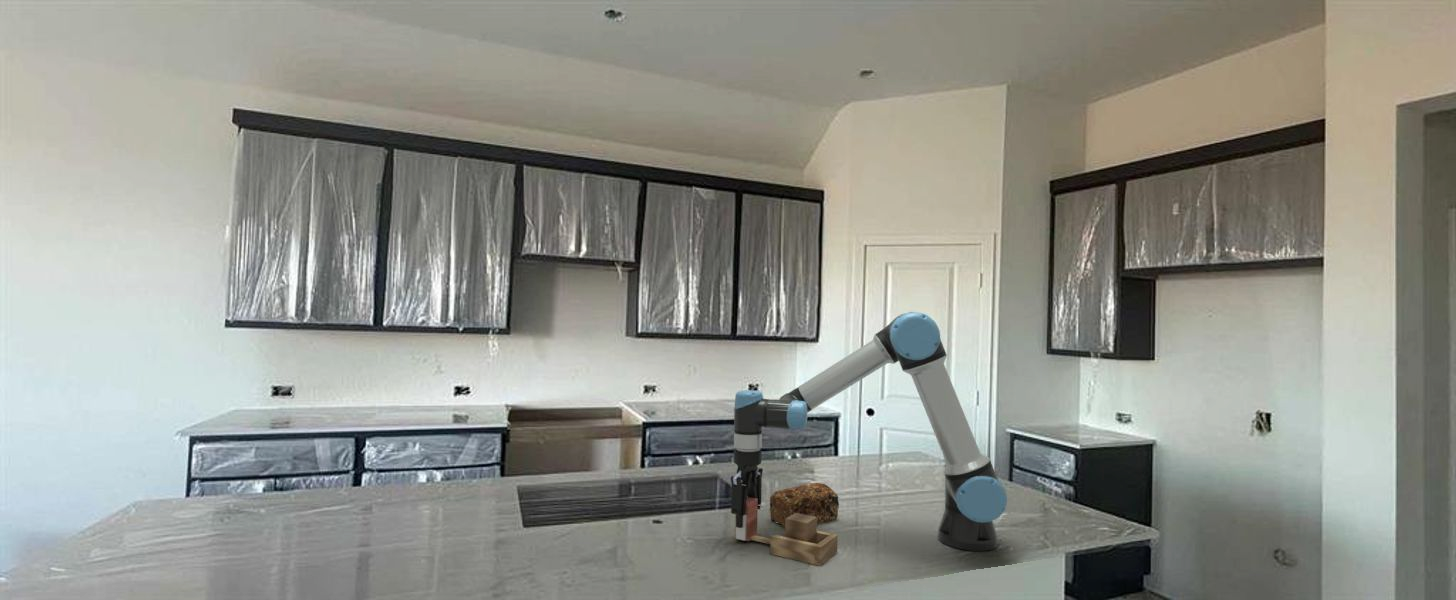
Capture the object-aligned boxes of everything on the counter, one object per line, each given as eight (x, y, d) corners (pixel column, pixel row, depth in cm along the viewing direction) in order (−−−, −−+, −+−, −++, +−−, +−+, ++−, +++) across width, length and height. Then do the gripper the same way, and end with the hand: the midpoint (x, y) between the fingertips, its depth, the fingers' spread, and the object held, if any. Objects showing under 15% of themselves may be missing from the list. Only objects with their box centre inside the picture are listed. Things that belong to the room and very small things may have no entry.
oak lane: (837, 552, 162) (837, 534, 162) (820, 565, 153) (820, 547, 153) (789, 541, 169) (789, 524, 170) (770, 553, 160) (770, 536, 160)
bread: (817, 511, 197) (818, 479, 197) (840, 521, 188) (840, 487, 188) (767, 520, 187) (768, 486, 188) (788, 531, 178) (789, 495, 178)
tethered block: (816, 548, 163) (816, 509, 163) (806, 555, 158) (807, 515, 158) (745, 532, 174) (745, 495, 174) (733, 539, 169) (734, 500, 169)
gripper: (751, 441, 180) (750, 524, 180) (718, 452, 165) (716, 543, 164) (775, 445, 176) (773, 529, 176) (743, 456, 161) (741, 549, 161)
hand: (746, 536), depth 170 cm, fingers closed on tethered block, 5 cm apart
